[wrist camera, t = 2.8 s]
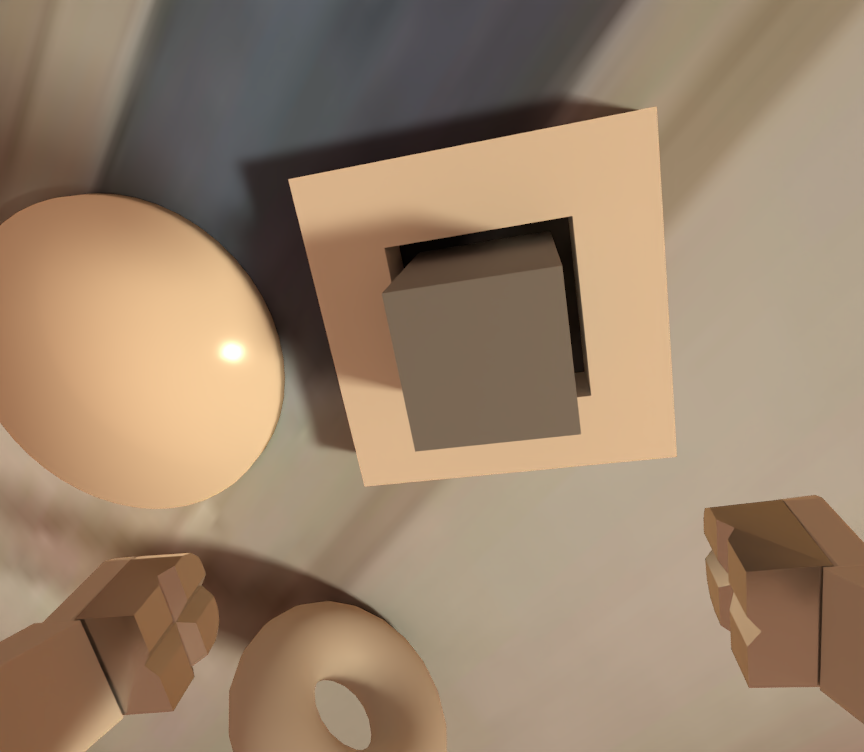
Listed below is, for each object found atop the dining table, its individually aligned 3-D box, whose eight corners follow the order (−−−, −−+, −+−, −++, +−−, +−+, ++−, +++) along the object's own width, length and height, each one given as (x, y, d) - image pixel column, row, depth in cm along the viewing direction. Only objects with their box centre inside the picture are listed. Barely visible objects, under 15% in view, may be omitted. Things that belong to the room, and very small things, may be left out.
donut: (270, 592, 31) (162, 786, 21) (304, 549, 29) (206, 735, 20) (431, 698, 32) (395, 926, 23) (471, 660, 31) (450, 886, 21)
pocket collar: (641, 110, 21) (656, 106, 19) (662, 427, 25) (676, 456, 23) (311, 175, 23) (288, 179, 21) (377, 456, 27) (364, 486, 25)
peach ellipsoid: (230, 163, 23) (219, 163, 23) (319, 482, 28) (312, 494, 27) (-72, 225, 26) (-94, 228, 25) (54, 509, 31) (40, 520, 30)
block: (550, 230, 23) (562, 265, 16) (564, 356, 24) (581, 434, 18) (419, 252, 24) (381, 293, 17) (441, 372, 25) (415, 451, 19)
